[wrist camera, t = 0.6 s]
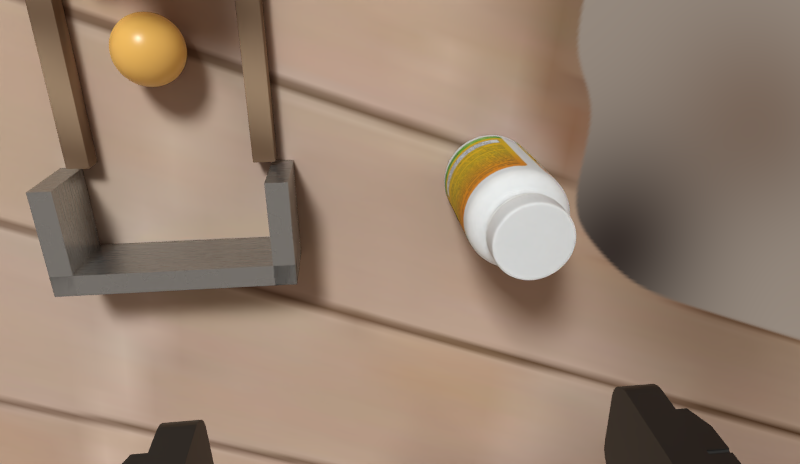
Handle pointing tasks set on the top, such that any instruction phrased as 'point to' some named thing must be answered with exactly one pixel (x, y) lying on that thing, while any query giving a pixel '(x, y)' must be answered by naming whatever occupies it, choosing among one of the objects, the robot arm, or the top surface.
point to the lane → (69, 97)
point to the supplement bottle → (510, 207)
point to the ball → (148, 49)
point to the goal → (160, 245)
